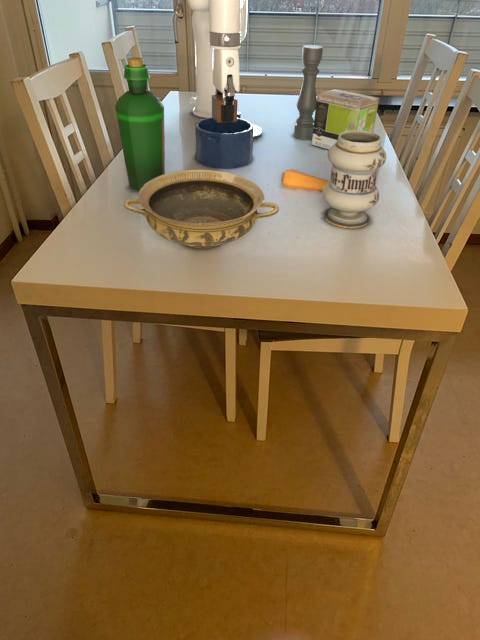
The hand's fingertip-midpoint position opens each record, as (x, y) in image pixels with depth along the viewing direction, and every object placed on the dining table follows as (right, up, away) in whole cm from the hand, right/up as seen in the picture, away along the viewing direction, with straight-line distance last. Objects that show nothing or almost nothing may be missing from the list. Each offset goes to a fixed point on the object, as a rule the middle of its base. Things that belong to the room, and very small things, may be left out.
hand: (224, 117), depth 128 cm
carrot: (+24, -22, -9) cm, 34 cm away
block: (0, 0, 0) cm, 0 cm away
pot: (0, -9, +7) cm, 11 cm away
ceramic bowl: (-3, -38, -30) cm, 48 cm away
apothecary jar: (+28, -32, -21) cm, 47 cm away
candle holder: (+24, +4, +24) cm, 35 cm away
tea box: (+34, -2, +17) cm, 38 cm away
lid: (+3, +6, +24) cm, 25 cm away
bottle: (-19, -22, -10) cm, 30 cm away
